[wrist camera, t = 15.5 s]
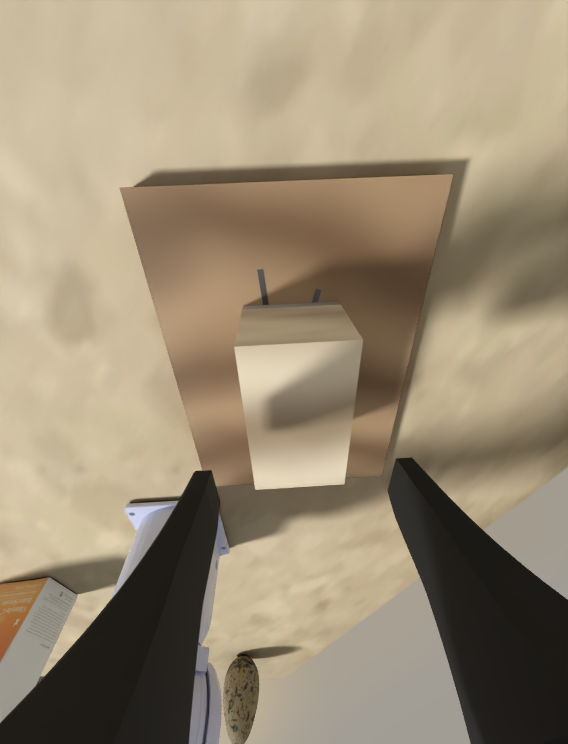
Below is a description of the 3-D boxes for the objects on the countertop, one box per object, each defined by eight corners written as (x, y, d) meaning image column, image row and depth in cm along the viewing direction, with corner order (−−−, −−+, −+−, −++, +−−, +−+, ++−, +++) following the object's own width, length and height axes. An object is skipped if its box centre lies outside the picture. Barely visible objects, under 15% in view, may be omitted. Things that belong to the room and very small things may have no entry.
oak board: (376, 463, 24) (381, 475, 23) (210, 474, 24) (207, 486, 23) (439, 175, 13) (453, 174, 12) (131, 187, 13) (119, 187, 12)
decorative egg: (252, 661, 53) (249, 749, 45) (222, 659, 52) (213, 750, 44) (264, 652, 51) (264, 744, 42) (233, 649, 49) (225, 744, 41)
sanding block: (329, 427, 20) (344, 484, 16) (257, 431, 20) (255, 489, 16) (338, 301, 15) (363, 339, 11) (242, 306, 15) (234, 346, 11)
